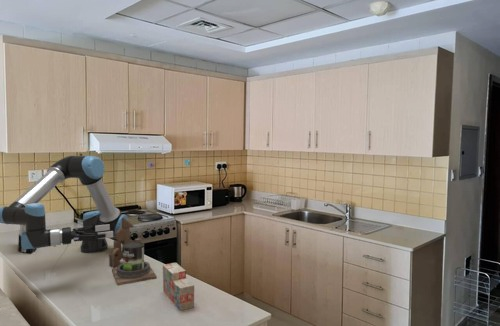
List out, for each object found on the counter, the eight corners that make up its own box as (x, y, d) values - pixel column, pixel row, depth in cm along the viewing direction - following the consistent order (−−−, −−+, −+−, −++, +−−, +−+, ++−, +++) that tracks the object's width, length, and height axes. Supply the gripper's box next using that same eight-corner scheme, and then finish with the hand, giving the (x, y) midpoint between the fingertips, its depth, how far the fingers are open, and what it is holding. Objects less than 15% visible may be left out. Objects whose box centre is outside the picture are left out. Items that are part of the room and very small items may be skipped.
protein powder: (21, 256, 210) (18, 204, 207) (15, 245, 228) (13, 198, 226) (40, 252, 216) (38, 202, 213) (33, 243, 234) (31, 196, 232)
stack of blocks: (194, 307, 148) (194, 277, 147) (179, 311, 145) (179, 280, 144) (176, 288, 167) (176, 261, 166) (162, 291, 163) (162, 264, 163)
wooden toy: (113, 268, 191) (112, 221, 189) (109, 265, 196) (107, 218, 194) (142, 262, 200) (141, 216, 198) (137, 258, 206) (136, 214, 204)
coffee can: (135, 277, 175) (135, 248, 174) (118, 274, 179) (117, 246, 178) (148, 270, 185) (148, 242, 184) (131, 267, 189) (131, 240, 187)
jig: (111, 270, 187) (111, 262, 187) (147, 265, 196) (147, 257, 195) (117, 285, 170) (117, 276, 169) (156, 278, 178) (156, 269, 177)
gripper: (61, 237, 178) (108, 231, 187) (62, 252, 156) (115, 245, 165) (61, 222, 177) (107, 217, 187) (61, 235, 155) (114, 229, 165)
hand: (111, 230), depth 176 cm, fingers open, 13 cm apart
